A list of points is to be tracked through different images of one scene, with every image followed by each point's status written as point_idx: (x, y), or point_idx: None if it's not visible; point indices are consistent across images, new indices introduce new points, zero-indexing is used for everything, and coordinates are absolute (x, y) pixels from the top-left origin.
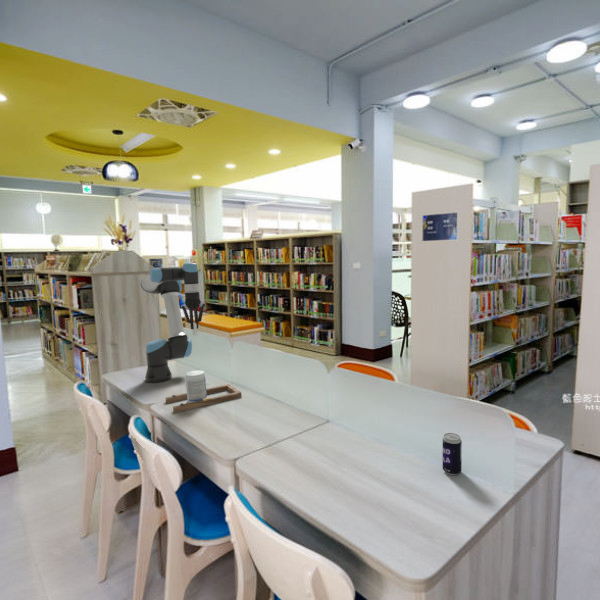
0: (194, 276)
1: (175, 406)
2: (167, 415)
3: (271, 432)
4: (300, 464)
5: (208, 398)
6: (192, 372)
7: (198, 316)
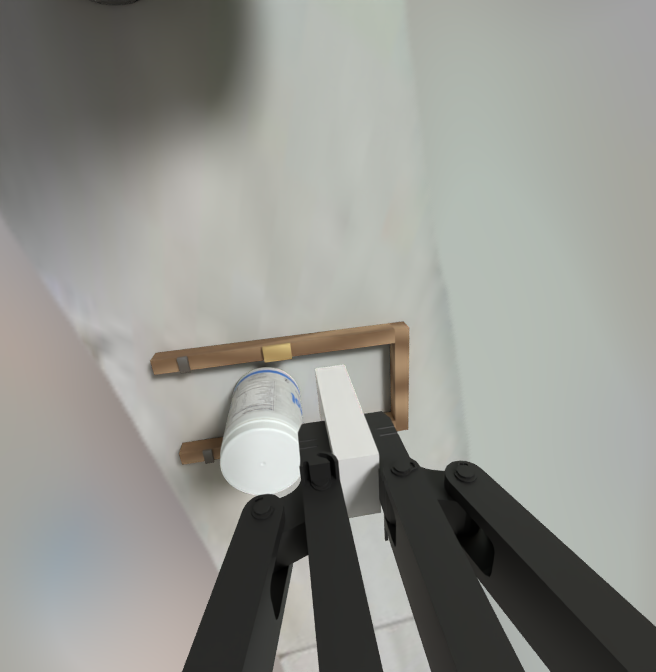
0: None
1: (186, 456)
2: (163, 462)
3: (371, 605)
4: None
5: None
6: (253, 452)
7: (492, 531)
